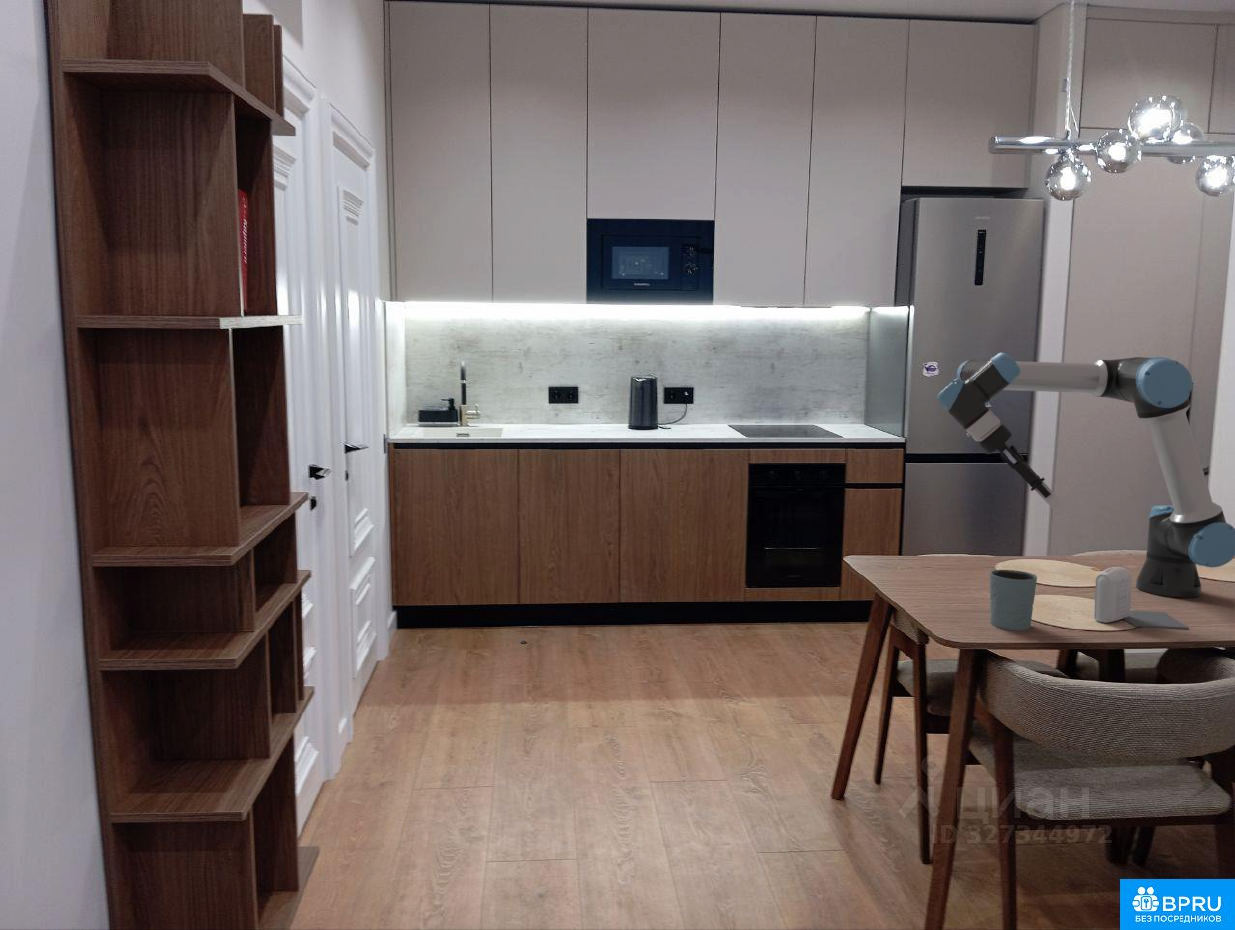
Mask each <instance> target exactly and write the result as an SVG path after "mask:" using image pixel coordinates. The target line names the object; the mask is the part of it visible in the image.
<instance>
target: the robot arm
mask: <svg viewBox="0 0 1235 930" xmlns="http://www.w3.org/2000/svg"><path fill="white" fill-rule="evenodd" d="M1193 385H1194V384H1193V377H1192V375H1191V372H1190V370H1189V369H1188V368H1187V367H1186V366H1185V365H1184V364H1182V363H1181V362H1179V361H1177V360H1175V359H1172V358H1167V357H1160V356H1159V357H1158V356H1157V357H1144V356H1143V357H1141V356H1135V357H1134V356H1133V357H1127V358H1118V359H1117V358H1115V359H1097V360H1095V361H1094V362H1093V363H1089V362H1088V363H1087V362H1086V363H1085V362H1053V361H1051V362H1049V361H1047V362H1046V361H1015V360H1014V359H1013V358H1012V356H1010V355H1009V354H1008V353H1006V352H1003V351H1002V352H998V353H996V354H995V355H994V356H992V357H991V358H990V359H989V360H978V359H970V360H966V361H963V362H962V363H961V364H960V365H959V366H958V368H957V370H956V378H955V379H954V380H952V381H951V382H950V383H949V384H948V385H947V386H945V387H944V388H943V389H941V391H940V392H939V393H938V394H937V396H936V397H937V400H938V402H939V403H940V405H941V406H942V407H943V408H944V410H945V411H946V412H947V413H948V414H949V415H951V417H952V418H953V419H955V421H956V422H957V423H958V424H959V425H960V426H961V427H962V429H963V430H965V431H966V432H967V433H966V436H967V437H968V438H970V437H972V439H973V440H974V441H975V442H978V446H980V448H981V449H982V450H983V451H984V452H985V453H986V454H987V455H990V454H993V453H994V452H995V451H996V450H997V451H998V452H999V453H1000V454H999V458H1000V459H1001V460H1002V461H1003V462H1006V464H1007V465H1008V466H1009V467H1010V468H1011V469H1013V470H1015V472H1017V473H1018V474H1019V475H1020V476H1021V478H1022V479H1023V480H1024V481H1026V483H1027V484H1029V486H1030V491H1031V492H1033V491H1035V492H1036V493H1037V494H1038V495H1039V496H1040V497H1041V498H1042V499H1043V500H1044V501H1045V502H1046V504H1048V506H1049V508H1051V509H1052V510H1055V509H1056V508H1058V507H1059V506H1061V505H1062V504H1064V503H1063V500H1062V499H1060V498H1059V496H1058V495H1057V494H1056V493H1055V492H1054V490H1052V489H1051V488H1050V486H1048V484H1046V482H1045V481H1046V479H1045V478H1044V477H1042V478H1041V477H1040V476H1039V475H1038V474H1037V473H1036V472H1035V471H1034V469H1033V468H1032V467H1031V466H1030V465H1029V464H1028V463H1027V462H1026V461H1025V460H1024V459H1025V458H1024V457H1023V455H1022V454H1021V453H1020V452H1019V451H1018V449H1017V448H1016V447H1015V445H1013V444H1012V445H1011V446H1010V444H1008V443H1007V441H1008V440H1010V439H1011V437H1012V436H1013V433H1012V432H1011V431H1010V430H1009V428H1007V427H1006V426H1005V424H1001V420H1000V419H999V418H998V416H996V414H995V413H994V412H993V411H992V410H991V409H989V408H988V406H987V405H986V404H988V403H989V402H990V401H991V400H993V398H994V397H996V396H997V395H999V393H1001V392H1002V391H1019V392H1021V391H1023V392H1024V391H1025V392H1050V393H1051V392H1052V393H1055V392H1056V393H1078V394H1079V393H1081V394H1083V393H1085V394H1086V393H1087V394H1091V395H1092V396H1093V397H1095V398H1109V399H1113V400H1119V401H1124V402H1126V403H1127V402H1128V403H1132V404H1134V408H1135V411H1136V414H1137V418H1138V419H1139V420H1141V421H1143V422H1146V423H1147V427H1148V430H1149V432H1150V436H1151V439H1152V444H1153V445H1154V448H1155V453H1156V457H1157V459H1158V463H1159V466H1160V468H1161V469H1160V470H1161V472H1162V476H1163V478H1164V480H1165V481H1164V482H1165V485H1166V487H1167V491H1168V494H1169V498H1170V501H1171V503H1172V505H1169V504H1168V505H1163V504H1162V505H1160V504H1159V505H1158V504H1157V505H1154V506H1152V507H1151V510H1150V513H1149V514H1150V515H1149V517H1148V520H1149V521H1148V522H1149V523H1148V533H1147V544H1146V545H1147V547H1146V554H1145V555H1146V556H1145V561H1144V563H1143V565H1142V567H1141V569H1140V571H1139V572H1138V575H1137V578H1136V583H1135V584H1136V585H1135V587H1136V588H1137V589H1138V590H1140V591H1142V592H1146V593H1149V594H1153V595H1158V596H1164V597H1172V598H1185V599H1187V598H1196V597H1200V596H1201V595H1202V583H1201V579H1200V575H1199V572H1198V568H1197V566H1201V567H1205V568H1206V567H1207V568H1218V567H1222V566H1224V565H1226V564H1228V563H1229V562H1231V561H1232V560H1233V559H1234V558H1235V527H1234V526H1233V525H1232V524H1230V523H1228V522H1227V521H1226V517H1225V514H1224V511H1223V508H1222V506H1221V505H1219V504H1217V503H1216V502H1214V501H1213V499H1212V496H1211V492H1210V490H1209V485H1208V483H1207V480H1206V476H1205V472H1204V470H1203V469H1204V468H1203V467H1202V463H1201V460H1200V455H1199V454H1198V449H1197V446H1196V444H1195V443H1196V442H1195V440H1194V436H1193V433H1192V430H1191V426H1190V423H1189V420H1188V416H1187V411H1188V410H1189V408H1190V406H1191V402H1190V398H1189V397H1190V394H1191V392H1192V391H1193Z"/></svg>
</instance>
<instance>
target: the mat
mask: <svg viewBox="0 0 1235 930" xmlns="http://www.w3.org/2000/svg"><path fill="white" fill-rule="evenodd" d="M1124 619H1126V620H1127V621H1128V622H1127V621H1126V620H1125V621H1126V622H1127V623H1129V622H1130V623H1131V624H1132V625H1131V624H1130V623H1129V624H1130V625H1131V626H1132V627H1138V628H1157V629H1173V630H1174V629H1175V630H1179V629H1180V630H1190V627H1189V626H1187V625H1186V624H1184V623H1183V622H1181V621H1179V620H1178V619H1176V618H1175V617H1172V616H1171V615H1169V614H1168V613H1167V612H1165V611H1152V610H1150V611H1149V610H1130V616H1129V617H1126V618H1124ZM1124 619H1123V620H1124Z"/></svg>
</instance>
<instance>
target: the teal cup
mask: <svg viewBox="0 0 1235 930" xmlns="http://www.w3.org/2000/svg"><path fill="white" fill-rule="evenodd" d="M1037 581H1038V576H1037V575H1036V574H1034V573H1031V572H1028V571H1027V572H1026V571H1023V570H1016V569H1014V570H1013V569H993V570H992V571H990V572H989V584H990V585H989V587H990V588H989V594H990V595H989V596H990V597H989V599H990V603H989V604H990V606H989V607H990V608H989V611H990V625H992V626H993V627H996V628H999V629H1002V630H1007V631H1015V632H1016V631H1018V632H1019V631H1021V632H1022V631H1028V630H1030V629H1031V626H1032V625H1031V624H1032V618H1033V617H1032V616H1033V611H1034V607H1033V606H1034V603H1035V597H1036V596H1035V594H1036V587H1037Z"/></svg>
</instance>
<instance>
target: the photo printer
mask: <svg viewBox="0 0 1235 930" xmlns="http://www.w3.org/2000/svg"><path fill="white" fill-rule="evenodd" d="M1132 578H1133V576H1132V573H1131V571H1130V570H1129V569H1127V568H1125V567H1120V566H1112V567H1108V568H1106V569H1104V570H1103V571H1101V572H1099V574H1098V575H1097V576H1096V578H1095V588H1094V589H1095V592H1094V613H1093V614H1094V615H1093V616H1094V620H1095V621H1097V622H1100V623H1112V622H1116V621H1120V620H1122V619H1123V618H1126V617H1129V616H1130V610H1131V608H1132V606H1131V604H1132V602H1131V601H1132ZM1123 620H1124V619H1123Z"/></svg>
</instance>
